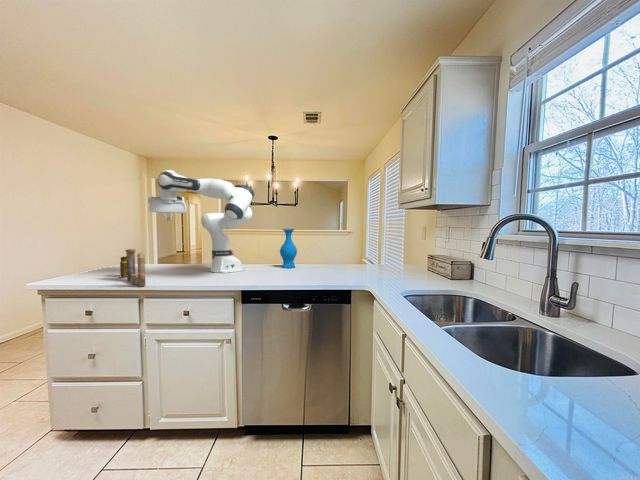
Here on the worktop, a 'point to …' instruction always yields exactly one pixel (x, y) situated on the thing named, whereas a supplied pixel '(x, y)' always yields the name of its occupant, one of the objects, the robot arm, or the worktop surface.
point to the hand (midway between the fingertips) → (168, 220)
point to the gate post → (132, 254)
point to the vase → (288, 250)
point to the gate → (140, 277)
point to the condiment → (123, 267)
